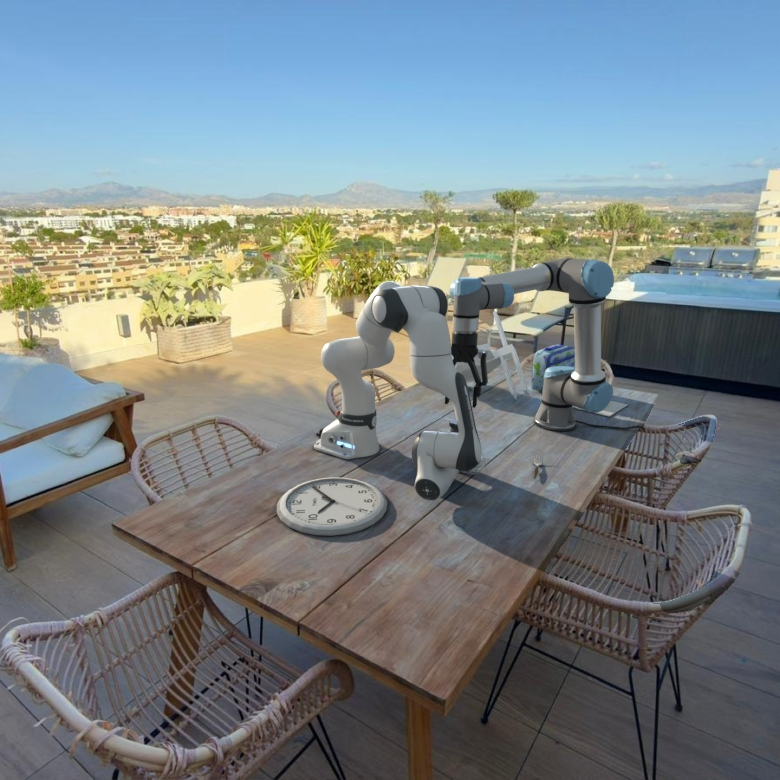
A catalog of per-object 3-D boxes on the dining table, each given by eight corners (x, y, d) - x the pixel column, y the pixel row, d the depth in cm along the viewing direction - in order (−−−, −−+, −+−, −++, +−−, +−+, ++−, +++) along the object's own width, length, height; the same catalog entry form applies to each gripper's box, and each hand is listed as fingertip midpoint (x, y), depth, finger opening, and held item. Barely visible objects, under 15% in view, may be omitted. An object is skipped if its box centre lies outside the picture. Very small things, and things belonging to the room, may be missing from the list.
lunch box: (547, 397, 237) (552, 352, 231) (526, 391, 245) (531, 348, 238) (574, 386, 255) (580, 344, 249) (554, 381, 262) (559, 340, 256)
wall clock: (392, 527, 129) (268, 531, 127) (391, 533, 130) (269, 537, 127) (383, 473, 158) (282, 475, 155) (383, 478, 158) (282, 480, 156)
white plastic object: (461, 429, 252) (437, 405, 227) (444, 352, 274) (420, 323, 250) (535, 404, 240) (518, 377, 215) (510, 326, 262) (492, 293, 237)
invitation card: (608, 416, 214) (573, 407, 224) (608, 416, 214) (573, 408, 224) (628, 404, 229) (594, 396, 238) (628, 405, 229) (594, 397, 238)
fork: (529, 479, 159) (530, 473, 158) (534, 459, 173) (535, 453, 173) (538, 481, 158) (539, 475, 158) (543, 460, 172) (543, 454, 172)
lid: (469, 430, 159) (469, 425, 159) (449, 429, 160) (449, 424, 159) (469, 423, 165) (469, 418, 164) (449, 422, 166) (449, 417, 165)
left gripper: (480, 463, 147) (490, 445, 160) (412, 450, 155) (427, 434, 167) (478, 483, 149) (489, 464, 161) (411, 469, 157) (426, 452, 169)
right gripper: (502, 331, 153) (496, 405, 160) (434, 326, 160) (431, 396, 167) (498, 336, 147) (492, 412, 153) (427, 330, 153) (424, 403, 160)
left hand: (457, 448), depth 164 cm, fingers open, 8 cm apart
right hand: (460, 404), depth 160 cm, fingers open, 8 cm apart
